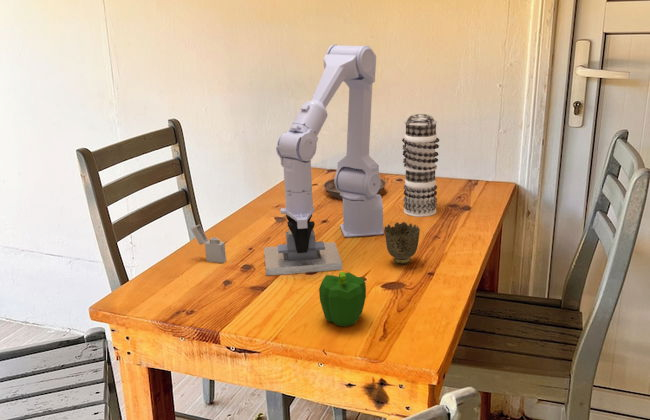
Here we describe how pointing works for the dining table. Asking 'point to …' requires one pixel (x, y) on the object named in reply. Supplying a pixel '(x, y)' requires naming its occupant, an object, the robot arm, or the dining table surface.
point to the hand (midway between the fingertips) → (301, 248)
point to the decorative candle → (420, 165)
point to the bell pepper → (342, 298)
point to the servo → (292, 251)
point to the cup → (402, 241)
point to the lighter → (210, 246)
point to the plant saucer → (335, 193)
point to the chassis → (302, 261)
